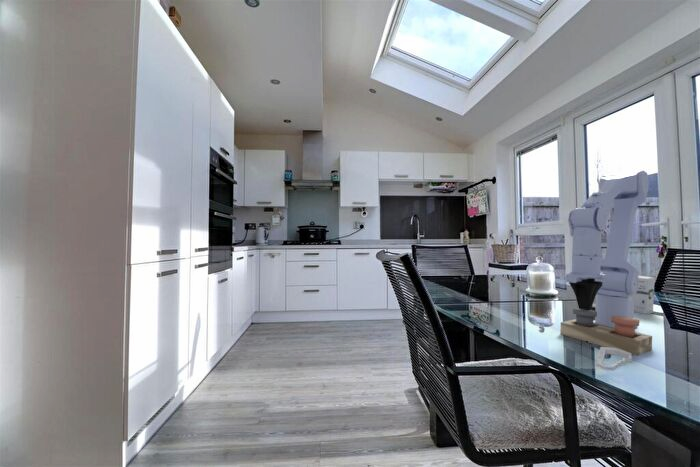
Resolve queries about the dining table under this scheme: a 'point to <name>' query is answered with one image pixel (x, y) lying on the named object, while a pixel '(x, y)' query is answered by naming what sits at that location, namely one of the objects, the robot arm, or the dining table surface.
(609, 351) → the stepped key frame
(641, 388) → the dining table surface
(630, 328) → the brick plug
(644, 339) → the socket block
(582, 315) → the grey plug
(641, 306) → the ink box
